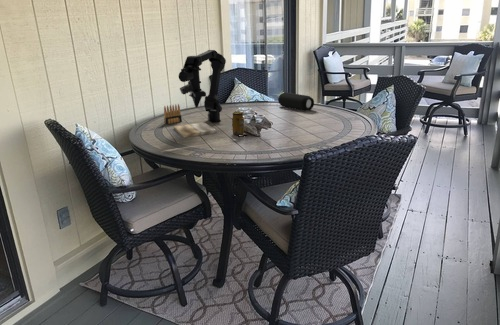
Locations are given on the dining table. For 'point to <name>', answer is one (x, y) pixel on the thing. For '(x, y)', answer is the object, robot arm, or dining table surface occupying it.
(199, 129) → the loose plank
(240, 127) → the condiment
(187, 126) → the plank
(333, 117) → the dining table surface
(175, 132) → the underlay mat
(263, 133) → the dining table surface
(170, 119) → the ammunition clip
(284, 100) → the portable speaker
